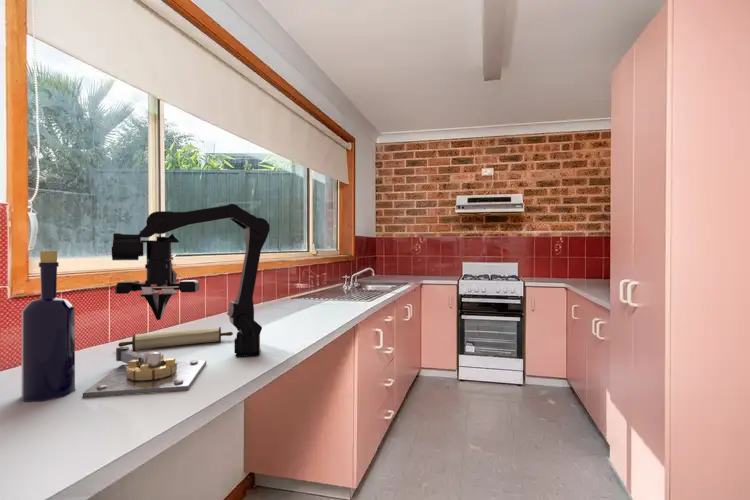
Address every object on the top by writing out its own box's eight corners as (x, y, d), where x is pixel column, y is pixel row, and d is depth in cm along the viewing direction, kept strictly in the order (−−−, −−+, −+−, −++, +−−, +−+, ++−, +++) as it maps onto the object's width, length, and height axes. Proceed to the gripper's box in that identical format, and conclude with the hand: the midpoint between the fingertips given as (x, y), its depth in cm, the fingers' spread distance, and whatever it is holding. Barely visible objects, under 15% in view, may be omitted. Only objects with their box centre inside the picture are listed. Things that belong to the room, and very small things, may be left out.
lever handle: (140, 356, 107) (140, 343, 107) (183, 371, 94) (183, 357, 94) (98, 365, 99) (98, 351, 99) (139, 383, 86) (139, 367, 86)
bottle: (86, 389, 86) (86, 251, 86) (38, 404, 77) (38, 251, 77) (57, 384, 89) (57, 250, 89) (8, 398, 80) (8, 251, 80)
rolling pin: (231, 339, 134) (231, 324, 134) (233, 342, 129) (233, 327, 129) (119, 350, 120) (119, 333, 120) (117, 354, 115) (117, 337, 115)
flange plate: (206, 363, 105) (206, 341, 105) (188, 390, 85) (188, 362, 85) (122, 368, 101) (122, 345, 100) (82, 397, 81) (82, 368, 81)
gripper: (203, 259, 114) (203, 313, 114) (131, 259, 109) (131, 315, 109) (194, 260, 103) (194, 320, 103) (114, 260, 99) (114, 323, 99)
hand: (159, 319), depth 104 cm, fingers closed
